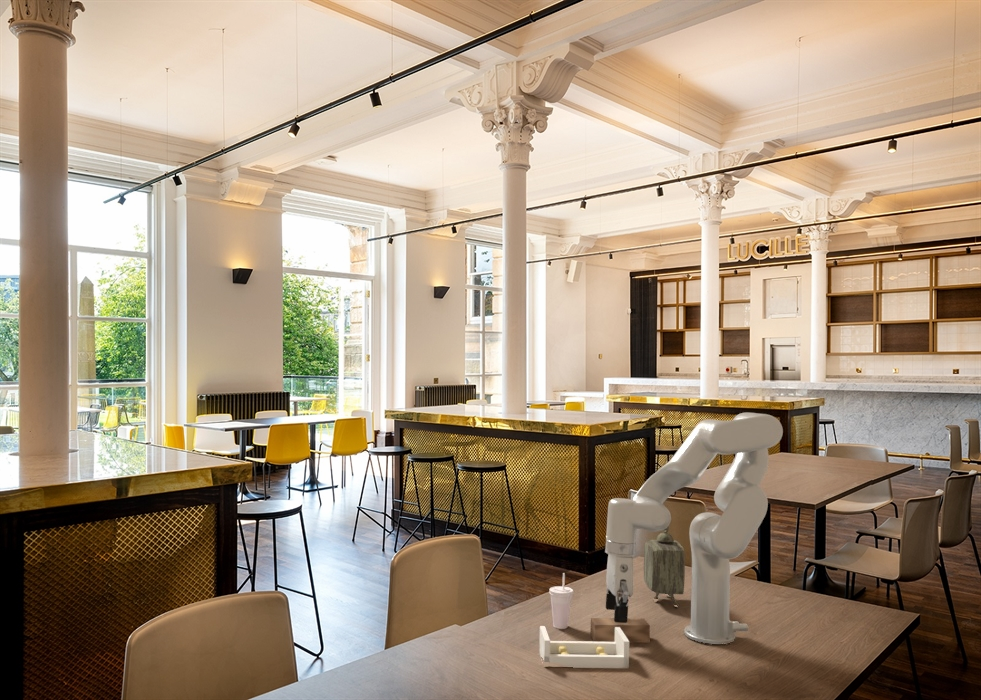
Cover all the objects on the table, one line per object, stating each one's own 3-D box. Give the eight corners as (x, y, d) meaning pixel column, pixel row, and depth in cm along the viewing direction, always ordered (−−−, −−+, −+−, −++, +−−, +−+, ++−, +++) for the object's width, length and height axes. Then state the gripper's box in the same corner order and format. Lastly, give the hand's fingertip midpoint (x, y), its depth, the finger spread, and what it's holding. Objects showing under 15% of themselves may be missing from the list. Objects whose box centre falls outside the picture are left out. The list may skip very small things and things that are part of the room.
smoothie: (571, 631, 183) (572, 577, 183) (546, 629, 184) (548, 575, 185) (573, 623, 189) (574, 570, 190) (549, 621, 190) (551, 568, 191)
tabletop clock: (684, 610, 203) (685, 523, 204) (652, 609, 203) (654, 522, 204) (671, 595, 217) (673, 513, 218) (642, 594, 217) (644, 512, 218)
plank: (643, 636, 182) (644, 618, 182) (649, 643, 177) (649, 625, 177) (590, 635, 181) (590, 618, 181) (594, 643, 176) (594, 624, 176)
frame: (619, 652, 170) (619, 627, 170) (628, 668, 160) (629, 641, 161) (539, 651, 169) (539, 626, 169) (544, 667, 159) (544, 640, 160)
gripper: (643, 557, 172) (639, 628, 171) (626, 541, 189) (622, 605, 188) (613, 555, 171) (608, 626, 170) (599, 539, 188) (594, 604, 188)
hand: (616, 615), depth 179 cm, fingers open, 9 cm apart
